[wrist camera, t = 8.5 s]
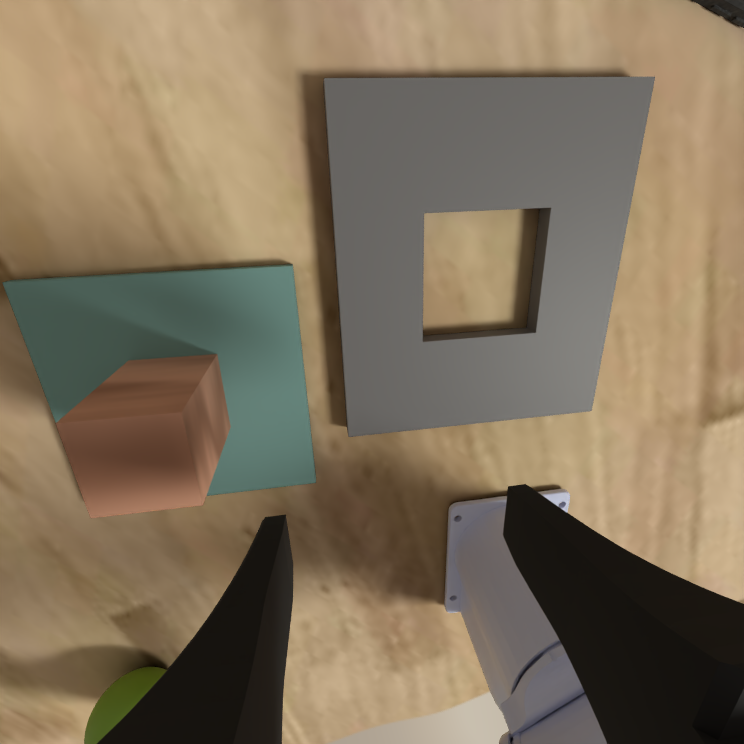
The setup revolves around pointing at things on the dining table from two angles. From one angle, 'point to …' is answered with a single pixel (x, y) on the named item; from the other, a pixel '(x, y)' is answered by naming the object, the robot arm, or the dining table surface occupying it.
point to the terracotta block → (148, 436)
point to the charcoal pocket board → (477, 193)
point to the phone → (726, 9)
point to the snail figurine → (119, 701)
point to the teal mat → (184, 353)
